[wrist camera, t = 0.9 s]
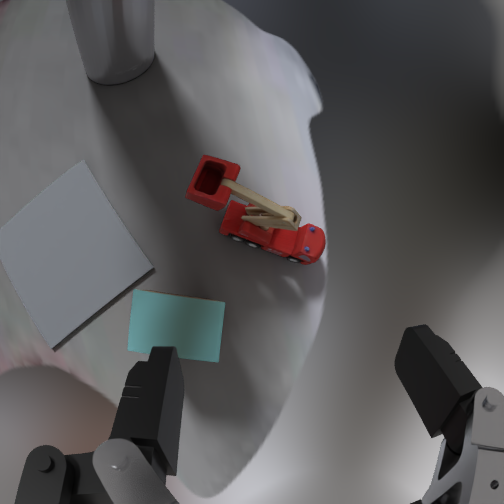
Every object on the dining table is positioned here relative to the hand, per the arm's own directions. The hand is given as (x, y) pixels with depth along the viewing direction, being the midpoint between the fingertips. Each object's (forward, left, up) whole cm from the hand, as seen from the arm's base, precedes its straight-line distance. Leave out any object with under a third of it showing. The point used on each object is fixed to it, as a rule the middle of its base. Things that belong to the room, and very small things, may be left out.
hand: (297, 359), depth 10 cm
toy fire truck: (-5, +8, -20) cm, 22 cm away
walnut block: (-2, -3, -20) cm, 21 cm away
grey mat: (-14, -9, -20) cm, 27 cm away
